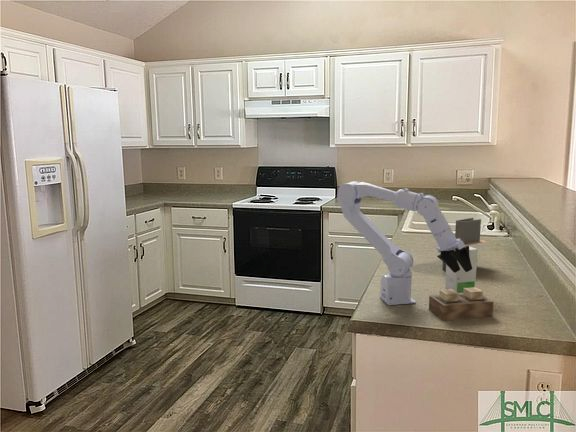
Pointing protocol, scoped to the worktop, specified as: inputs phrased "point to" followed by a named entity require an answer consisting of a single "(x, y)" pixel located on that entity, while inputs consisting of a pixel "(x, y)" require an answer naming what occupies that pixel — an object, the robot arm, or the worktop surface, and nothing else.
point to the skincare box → (462, 275)
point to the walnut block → (460, 307)
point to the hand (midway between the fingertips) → (463, 270)
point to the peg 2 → (473, 293)
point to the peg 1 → (448, 295)
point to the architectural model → (468, 233)
